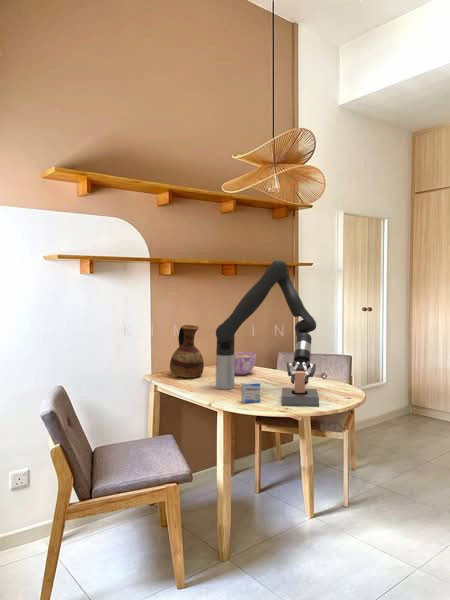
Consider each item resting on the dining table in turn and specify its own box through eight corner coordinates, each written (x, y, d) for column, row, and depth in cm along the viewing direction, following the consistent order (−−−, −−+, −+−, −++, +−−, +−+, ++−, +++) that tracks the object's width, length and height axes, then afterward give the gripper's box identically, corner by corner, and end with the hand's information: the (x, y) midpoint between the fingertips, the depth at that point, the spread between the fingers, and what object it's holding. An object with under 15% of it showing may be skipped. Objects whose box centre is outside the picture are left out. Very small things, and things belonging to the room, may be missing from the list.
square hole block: (281, 405, 198) (281, 396, 198) (281, 396, 214) (281, 388, 213) (318, 406, 196) (318, 397, 196) (316, 397, 212) (316, 388, 211)
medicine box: (244, 403, 201) (244, 384, 201) (241, 401, 206) (241, 382, 205) (260, 402, 203) (260, 383, 203) (257, 399, 208) (257, 381, 207)
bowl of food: (251, 378, 255) (251, 357, 254) (218, 376, 261) (218, 356, 261) (260, 371, 274) (260, 352, 273) (228, 369, 280) (228, 351, 280)
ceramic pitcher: (181, 381, 247) (180, 327, 246) (163, 375, 264) (162, 324, 263) (210, 377, 259) (210, 325, 258) (192, 371, 275) (191, 322, 274)
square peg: (294, 392, 203) (294, 372, 202) (294, 390, 207) (294, 370, 207) (305, 392, 202) (304, 373, 202) (304, 390, 206) (304, 371, 206)
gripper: (286, 347, 213) (282, 378, 202) (317, 348, 209) (314, 379, 198) (288, 356, 218) (284, 387, 207) (318, 358, 214) (316, 388, 203)
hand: (299, 383), depth 203 cm, fingers closed on square peg, 5 cm apart
